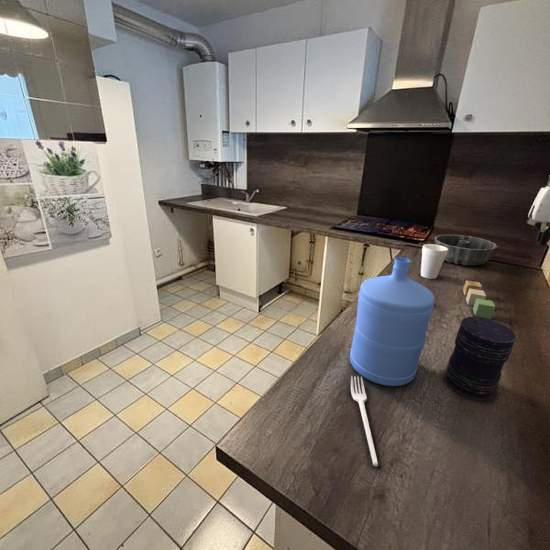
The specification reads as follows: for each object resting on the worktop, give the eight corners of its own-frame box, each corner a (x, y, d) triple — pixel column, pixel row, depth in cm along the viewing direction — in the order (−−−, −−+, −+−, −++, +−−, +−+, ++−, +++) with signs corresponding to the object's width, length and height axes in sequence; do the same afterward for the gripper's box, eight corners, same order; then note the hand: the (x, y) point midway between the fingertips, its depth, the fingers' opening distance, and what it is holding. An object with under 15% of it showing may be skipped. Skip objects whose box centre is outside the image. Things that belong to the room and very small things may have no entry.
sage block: (488, 312, 98) (492, 300, 96) (491, 319, 94) (495, 306, 92) (472, 309, 99) (476, 298, 98) (474, 315, 96) (478, 303, 94)
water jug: (429, 384, 67) (462, 271, 56) (365, 391, 64) (387, 275, 53) (393, 343, 81) (414, 247, 70) (340, 348, 78) (352, 249, 67)
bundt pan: (435, 266, 138) (440, 245, 134) (426, 249, 162) (430, 232, 158) (499, 273, 131) (507, 252, 128) (480, 255, 155) (486, 236, 151)
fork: (365, 466, 49) (367, 459, 49) (348, 381, 68) (349, 375, 67) (385, 468, 49) (387, 461, 48) (362, 382, 67) (363, 376, 67)
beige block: (480, 301, 105) (483, 290, 103) (482, 307, 101) (486, 295, 99) (465, 299, 107) (469, 288, 105) (467, 304, 103) (471, 293, 101)
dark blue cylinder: (505, 394, 64) (529, 338, 58) (470, 404, 61) (492, 346, 56) (466, 365, 73) (483, 313, 67) (434, 372, 70) (449, 319, 64)
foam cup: (442, 281, 121) (449, 252, 116) (417, 278, 124) (424, 249, 119) (438, 273, 129) (445, 245, 124) (416, 270, 132) (422, 243, 127)
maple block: (476, 293, 112) (479, 282, 110) (478, 297, 108) (482, 286, 106) (462, 290, 113) (466, 280, 112) (464, 295, 110) (467, 284, 108)
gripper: (590, 184, 86) (565, 244, 93) (528, 181, 91) (508, 238, 99) (604, 186, 80) (576, 250, 87) (536, 183, 85) (515, 244, 92)
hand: (540, 243), depth 93 cm, fingers closed
